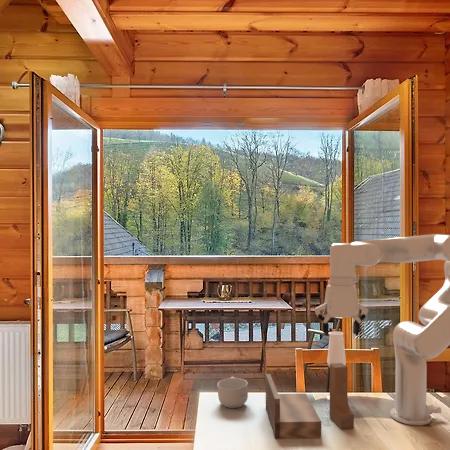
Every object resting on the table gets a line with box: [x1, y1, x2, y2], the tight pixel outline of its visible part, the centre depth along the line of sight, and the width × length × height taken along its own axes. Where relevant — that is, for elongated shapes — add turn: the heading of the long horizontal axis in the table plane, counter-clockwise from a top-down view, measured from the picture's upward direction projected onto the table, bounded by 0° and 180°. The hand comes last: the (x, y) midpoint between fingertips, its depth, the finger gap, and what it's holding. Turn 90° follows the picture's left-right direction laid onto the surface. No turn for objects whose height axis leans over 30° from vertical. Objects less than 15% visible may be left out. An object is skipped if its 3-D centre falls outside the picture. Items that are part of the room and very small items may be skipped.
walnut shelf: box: [265, 373, 322, 440], centre depth 149 cm, size 14×22×12 cm, turn 2°
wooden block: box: [329, 363, 355, 430], centre depth 148 cm, size 9×4×18 cm, turn 10°
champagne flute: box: [326, 331, 347, 401], centre depth 168 cm, size 7×7×24 cm
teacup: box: [216, 376, 249, 409], centre depth 164 cm, size 14×11×8 cm
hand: (341, 334), depth 148 cm, fingers open, 9 cm apart
